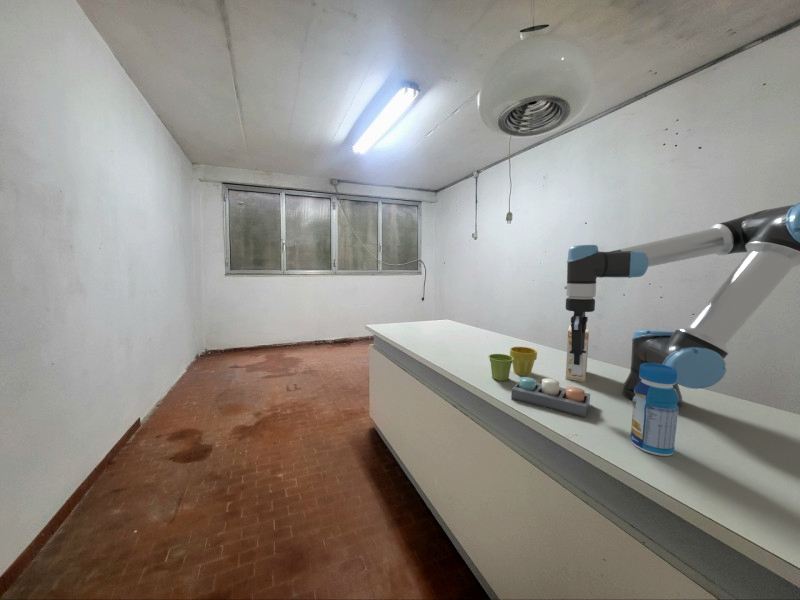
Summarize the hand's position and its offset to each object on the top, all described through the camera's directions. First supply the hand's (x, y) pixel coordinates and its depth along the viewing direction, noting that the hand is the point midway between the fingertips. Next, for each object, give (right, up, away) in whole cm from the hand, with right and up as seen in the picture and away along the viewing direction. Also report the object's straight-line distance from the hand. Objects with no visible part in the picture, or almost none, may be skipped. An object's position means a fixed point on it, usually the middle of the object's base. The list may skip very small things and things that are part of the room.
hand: (576, 374), depth 92 cm
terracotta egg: (0, -9, +1) cm, 10 cm away
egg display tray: (-6, -10, +5) cm, 13 cm away
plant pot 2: (-3, -8, +33) cm, 34 cm away
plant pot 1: (-15, -8, +26) cm, 31 cm away
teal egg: (-11, -9, +10) cm, 17 cm away
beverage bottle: (+7, -13, -19) cm, 24 cm away
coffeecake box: (+17, -8, +30) cm, 35 cm away
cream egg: (-6, -8, +5) cm, 11 cm away
